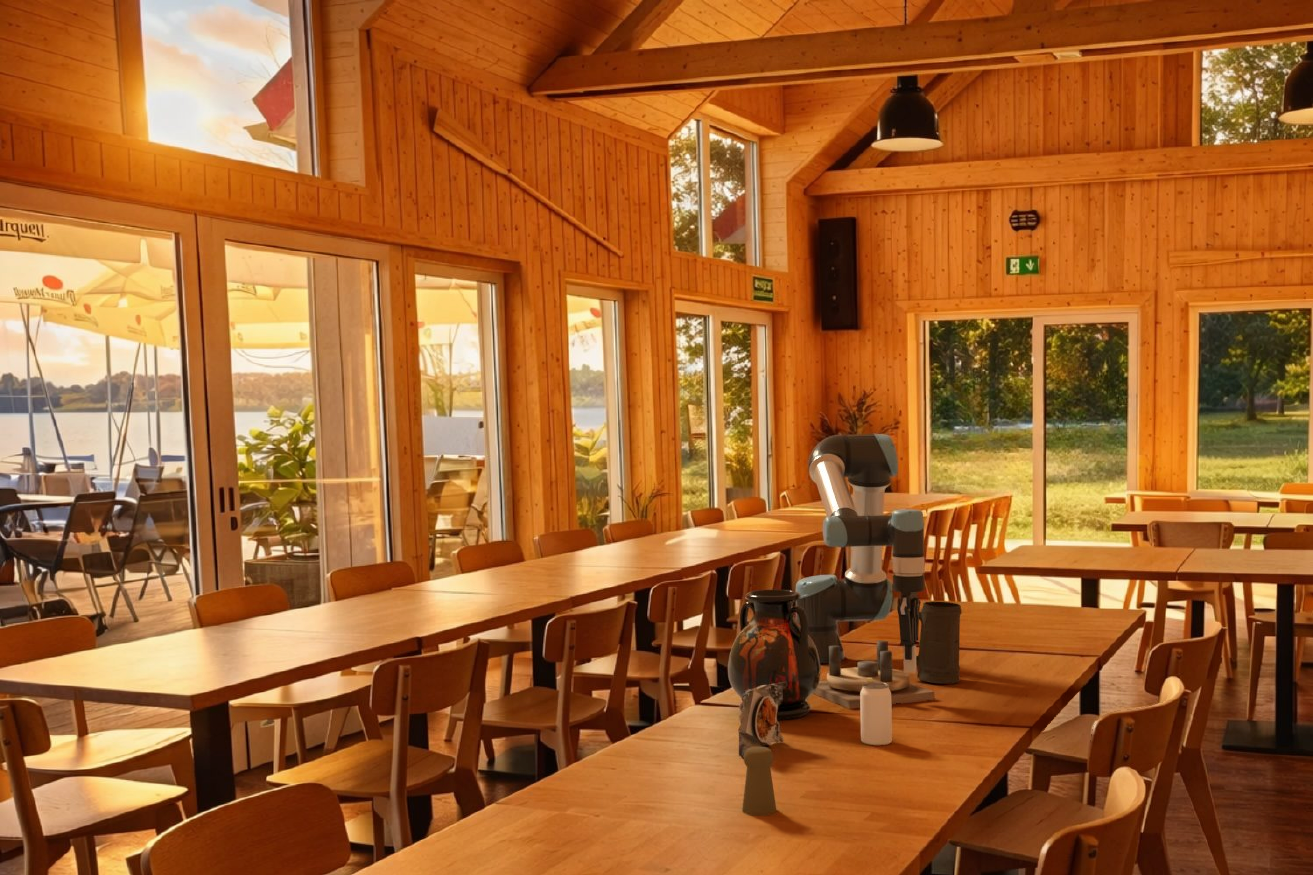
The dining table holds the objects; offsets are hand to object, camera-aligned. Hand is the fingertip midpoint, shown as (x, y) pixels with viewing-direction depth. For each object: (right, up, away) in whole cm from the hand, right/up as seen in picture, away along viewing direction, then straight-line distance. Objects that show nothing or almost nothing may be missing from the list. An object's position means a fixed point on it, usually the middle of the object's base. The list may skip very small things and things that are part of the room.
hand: (910, 672), depth 310 cm
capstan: (-9, -4, +8) cm, 12 cm away
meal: (-38, -9, -42) cm, 58 cm away
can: (-15, -8, -38) cm, 41 cm away
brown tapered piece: (-43, -9, -83) cm, 94 cm away
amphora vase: (-33, -8, -10) cm, 35 cm away
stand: (-9, -7, +8) cm, 14 cm away
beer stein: (+10, -7, +23) cm, 26 cm away
